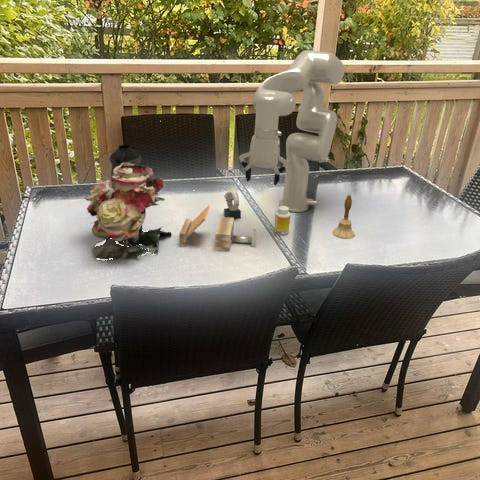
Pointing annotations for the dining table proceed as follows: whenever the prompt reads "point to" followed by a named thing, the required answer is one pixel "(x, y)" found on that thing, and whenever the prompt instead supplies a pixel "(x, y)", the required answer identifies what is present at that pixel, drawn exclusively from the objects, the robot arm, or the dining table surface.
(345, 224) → the hand bell
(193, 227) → the flap
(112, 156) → the beer stein
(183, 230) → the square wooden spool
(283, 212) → the supplement bottle
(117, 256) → the rose bouquet
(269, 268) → the dining table surface
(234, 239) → the pin
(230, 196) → the watch
